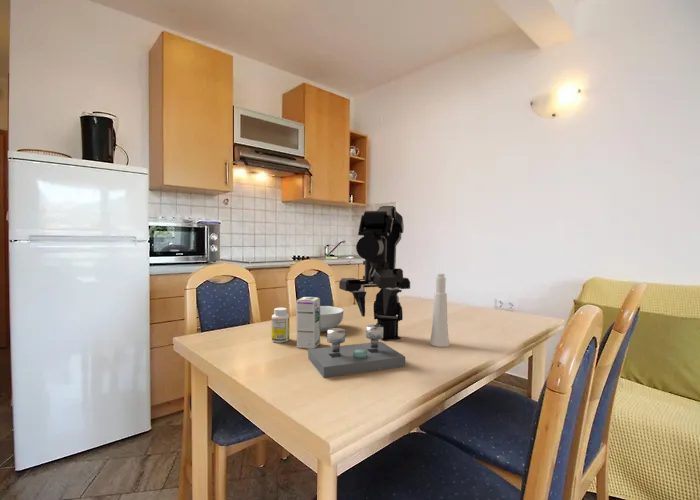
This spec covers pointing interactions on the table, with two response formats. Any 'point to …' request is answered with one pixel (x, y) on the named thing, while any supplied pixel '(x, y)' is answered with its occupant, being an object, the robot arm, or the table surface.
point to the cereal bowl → (329, 317)
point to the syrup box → (308, 322)
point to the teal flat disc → (360, 354)
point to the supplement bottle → (280, 325)
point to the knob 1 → (336, 338)
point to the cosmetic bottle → (440, 315)
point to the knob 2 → (374, 334)
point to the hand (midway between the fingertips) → (374, 315)
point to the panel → (354, 359)
